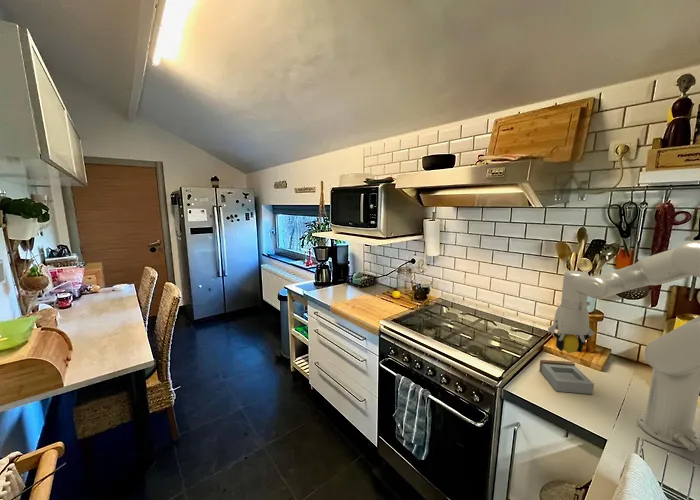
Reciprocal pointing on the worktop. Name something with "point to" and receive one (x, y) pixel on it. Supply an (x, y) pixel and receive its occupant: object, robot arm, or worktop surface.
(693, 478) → the worktop surface
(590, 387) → the tray
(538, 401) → the worktop surface
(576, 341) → the lemon
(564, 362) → the wall
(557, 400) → the worktop surface
